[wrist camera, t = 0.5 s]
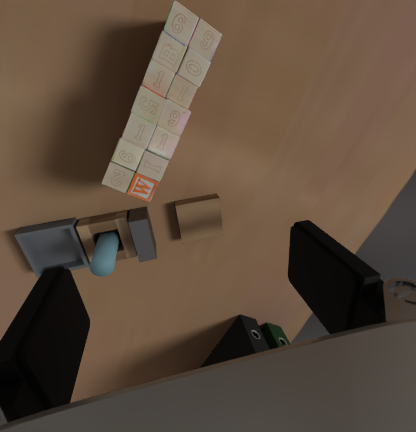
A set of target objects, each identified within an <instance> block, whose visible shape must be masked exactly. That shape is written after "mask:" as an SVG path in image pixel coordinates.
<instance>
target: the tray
mask: <svg viewBox="0 0 416 432" xmlns="http://www.w3.org/2000/svg"><path fill="white" fill-rule="evenodd" d="M77 224H78V222H77V219H76V218H70V219H65V220H59V221H54V222H48V223H43V224H37V225H32V226H26V227H21V228H20V229H19V230H18V231H17V232H16V233H15V234H14V236H15V238H16V240H17V242H18V243H19V245H20V247H21V249H22V251H23V253H24V254H25V256H26V258H27V260H28V262H29V264H30V265H31V267H32V269H33V271H34V273H35V275H36V276H37V277H40V276H41V274H42V273H43V271H44V270H45V269H47V268H52V267H57V266H63V267H64V268H65V269H67V268H68V269H69V270H70V271H71V270H75V269H80V268H85V267H89V266H90V261H89V258H88V256H87V253H86V251H85V248H84V246H83V243H82V241H81V238H80V236H79V233H78V231H77V228H76V226H77Z"/></svg>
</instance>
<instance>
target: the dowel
mask: <svg viewBox="0 0 416 432" xmlns="http://www.w3.org/2000/svg"><path fill="white" fill-rule="evenodd" d="M119 238H120V234H119V231H118V229H115V230H110V231H105V232H100V235H99V238H98V241H97V244H96V247H95V250H94V254H93V257H92V260H91V263H90V271H91V272H92V273H93V274H94V275H97V276H107V275H109V274H111V273H112V272H113V270H114V266H115V260H116V255H117V249H118V244H119Z"/></svg>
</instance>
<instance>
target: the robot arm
mask: <svg viewBox="0 0 416 432" xmlns="http://www.w3.org/2000/svg"><path fill="white" fill-rule="evenodd" d="M288 278H289V281H290V283H291V284H292V285H293V287H294V288H295V289H296V290H297V292H298V293H299V294H300V296H301V297H302V298H303V300H304V301H305V302H306V303H307V305H308V306H309V307H310V309H311V310H312V311H313V313H314V314H315V315H316V316H317V318H318V319H319V320H320V322H321V323H322V324H323V326H324V327H325V328H326V330H327V331H328V332H329V333H330V335H326V336H323V337H318V338H315V339H311V340H307V341H303V342H299V343H295V344H291V345H287V346H283V347H279V348H275V349H271V350H267V351H264V352H260V353H256V354H252V355H248V356H244V357H241V358H237V359H233V360H229V361H225V362H221V363H218V364H214V365H210V366H206V367H202V368H198V369H195V370H191V371H187V372H183V373H179V374H176V375H172V376H168V377H164V378H161V379H157V380H153V381H149V382H146V383H142V384H138V385H135V386H131V387H127V388H123V389H120V390H116V391H112V392H108V393H105V394H101V395H97V396H94V397H90V398H87V399H83V400H80V401H76V402H73V403H70V401H71V397H72V393H73V389H74V385H75V381H76V378H77V374H78V370H79V366H80V362H81V359H82V355H83V351H84V347H85V343H86V339H87V336H88V332H89V328H90V319H89V316H88V313H87V311H86V309H85V306H84V304H83V301H82V299H81V296H80V294H79V291H78V289H77V286H76V284H75V281H74V279H73V276H72V274H71V271H70V270H69V269H68V268H67V269H65V268H64V267H63V266H57V267H52V268H47V269H45V270H44V271H43V273H42V274H41V276H40V277H39V279H38V281H37V282H36V284H35V286H34V287H33V289H32V290H31V292H30V294H29V295H28V297H27V299H26V300H25V302H24V303H23V305H22V307H21V308H20V310H19V312H18V313H17V315H16V316H15V318H14V320H13V321H12V323H11V324H10V326H9V328H8V329H7V331H6V333H5V334H4V336H3V337H2V339H1V341H0V432H416V281H412V280H409V279H403V278H391V279H388V280H386V281H385V282H383V281H382V280H381V279H380V274H379V273H378V272H377V271H375V270H374V269H372V268H371V267H370V266H369V265H367V264H366V263H365V262H363V261H362V260H361V259H359V258H358V257H357V256H356V255H354V254H353V253H352V252H350V251H349V250H348V249H346V248H345V247H344V246H342V245H341V244H340V243H338V242H337V241H336V240H335V239H333V238H332V237H331V236H329V235H328V234H327V233H325V232H324V231H323V230H321V229H320V228H319V227H317V226H316V225H315V224H313V223H312V222H311V221H309V220H305V221H300V222H296V223H295V224H294V226H292V227H291V231H290V248H289V265H288Z"/></svg>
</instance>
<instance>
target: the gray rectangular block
mask: <svg viewBox="0 0 416 432" xmlns="http://www.w3.org/2000/svg"><path fill="white" fill-rule="evenodd" d="M128 224H129V227H130V231H131V234H132V238H133V241H134V245H135V248H136V251H137V255H138V258H139V262H143V261H147V260H152V259H157V255H156V242H155V238H154V234H153V230H152V226H151V222H150V217H149V213H148V209H147V207H142V208H136V209H131V210H130V213H129V220H128Z"/></svg>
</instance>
